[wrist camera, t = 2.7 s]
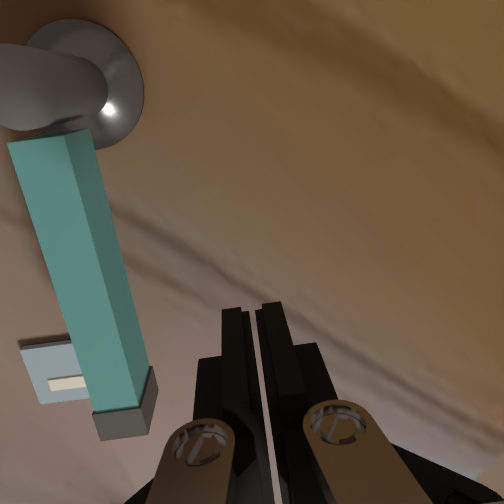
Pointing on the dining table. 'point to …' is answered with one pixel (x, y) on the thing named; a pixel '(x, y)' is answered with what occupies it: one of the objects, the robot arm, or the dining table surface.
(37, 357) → the label cards
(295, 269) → the dining table surface
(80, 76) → the boom bar
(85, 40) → the pivot plate
